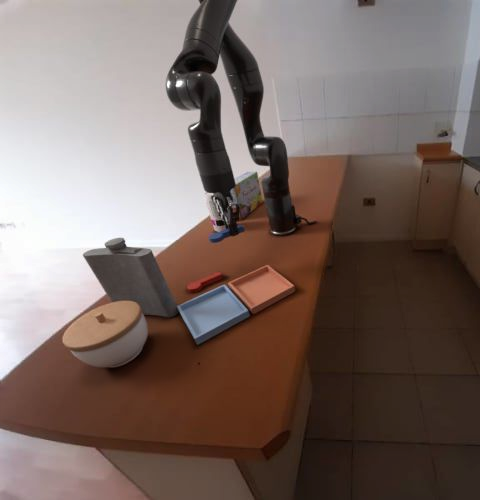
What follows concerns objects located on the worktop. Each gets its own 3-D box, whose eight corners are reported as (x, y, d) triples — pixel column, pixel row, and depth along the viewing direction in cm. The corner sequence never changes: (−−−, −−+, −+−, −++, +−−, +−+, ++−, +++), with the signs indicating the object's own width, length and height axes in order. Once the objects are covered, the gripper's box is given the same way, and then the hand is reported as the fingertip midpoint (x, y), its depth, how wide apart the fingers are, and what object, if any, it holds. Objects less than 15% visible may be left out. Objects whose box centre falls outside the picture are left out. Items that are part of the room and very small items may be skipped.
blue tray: (226, 289, 75) (224, 284, 74) (249, 316, 66) (248, 310, 65) (179, 311, 69) (176, 306, 68) (197, 345, 59) (194, 338, 58)
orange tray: (268, 270, 82) (267, 264, 81) (295, 291, 73) (294, 285, 72) (229, 288, 76) (227, 282, 75) (253, 314, 66) (251, 308, 65)
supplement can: (210, 232, 108) (198, 195, 100) (224, 223, 114) (214, 188, 107) (226, 234, 105) (215, 196, 98) (240, 225, 112) (231, 189, 104)
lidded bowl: (103, 391, 51) (71, 350, 45) (76, 362, 57) (45, 324, 52) (169, 343, 60) (148, 304, 54) (139, 323, 66) (118, 286, 61)
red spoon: (219, 274, 82) (218, 270, 81) (224, 279, 79) (222, 275, 79) (187, 288, 77) (185, 284, 76) (190, 294, 74) (189, 289, 74)
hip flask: (116, 315, 69) (72, 245, 59) (128, 304, 73) (89, 237, 63) (174, 317, 67) (139, 245, 57) (183, 306, 70) (152, 236, 60)
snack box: (243, 220, 116) (234, 185, 108) (230, 220, 117) (221, 185, 109) (263, 202, 134) (257, 170, 126) (253, 201, 135) (246, 170, 127)
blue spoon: (240, 228, 78) (239, 223, 78) (246, 232, 76) (245, 227, 75) (207, 239, 73) (206, 234, 73) (212, 244, 71) (210, 238, 70)
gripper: (242, 170, 64) (257, 237, 73) (220, 162, 74) (236, 222, 82) (209, 178, 60) (229, 247, 69) (190, 168, 70) (210, 230, 78)
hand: (233, 233), depth 76 cm, fingers closed on blue spoon, 2 cm apart
